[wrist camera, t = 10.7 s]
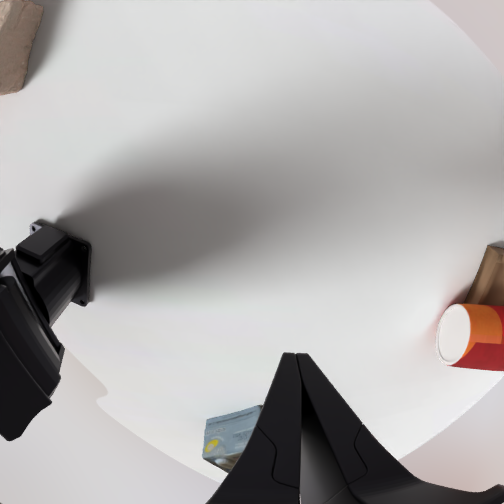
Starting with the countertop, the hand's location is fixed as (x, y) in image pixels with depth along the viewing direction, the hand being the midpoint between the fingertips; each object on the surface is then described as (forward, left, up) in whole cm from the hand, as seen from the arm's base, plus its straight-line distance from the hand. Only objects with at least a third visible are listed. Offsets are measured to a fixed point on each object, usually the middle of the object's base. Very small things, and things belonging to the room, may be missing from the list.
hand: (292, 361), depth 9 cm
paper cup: (-2, -18, -9) cm, 20 cm away
